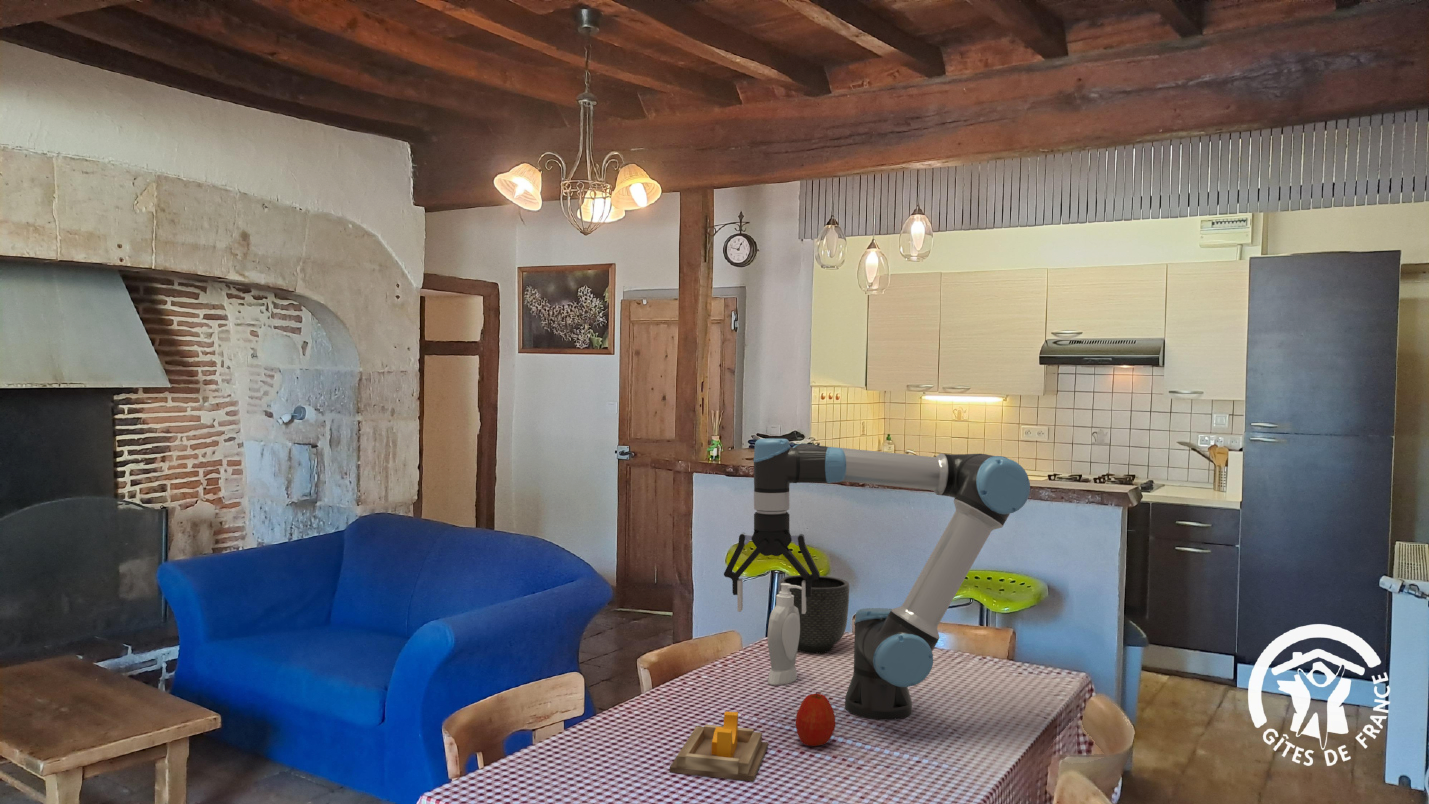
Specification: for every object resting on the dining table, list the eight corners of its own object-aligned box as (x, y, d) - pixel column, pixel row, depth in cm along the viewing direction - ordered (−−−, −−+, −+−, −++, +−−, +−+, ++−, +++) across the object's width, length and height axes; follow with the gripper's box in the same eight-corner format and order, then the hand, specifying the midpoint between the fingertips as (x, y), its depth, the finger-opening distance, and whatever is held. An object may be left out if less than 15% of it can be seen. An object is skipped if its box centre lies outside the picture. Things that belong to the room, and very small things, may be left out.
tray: (767, 747, 197) (768, 730, 197) (753, 781, 179) (754, 763, 179) (691, 739, 200) (691, 722, 200) (669, 772, 182) (670, 754, 182)
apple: (824, 754, 194) (825, 700, 193) (787, 745, 198) (788, 693, 198) (841, 742, 201) (842, 690, 200) (805, 734, 205) (806, 683, 205)
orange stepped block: (715, 742, 196) (716, 710, 195) (737, 744, 195) (738, 712, 195) (707, 765, 184) (708, 731, 184) (729, 767, 183) (730, 732, 183)
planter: (774, 655, 266) (776, 585, 266) (781, 637, 286) (782, 573, 285) (846, 660, 263) (848, 590, 263) (848, 642, 282) (850, 577, 282)
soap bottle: (783, 691, 234) (786, 590, 234) (758, 684, 239) (761, 585, 239) (814, 680, 244) (817, 583, 244) (789, 673, 249) (792, 578, 249)
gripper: (831, 510, 207) (831, 609, 208) (716, 508, 211) (716, 605, 212) (830, 514, 200) (830, 617, 200) (710, 512, 204) (711, 613, 204)
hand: (771, 611), depth 206 cm, fingers open, 13 cm apart
